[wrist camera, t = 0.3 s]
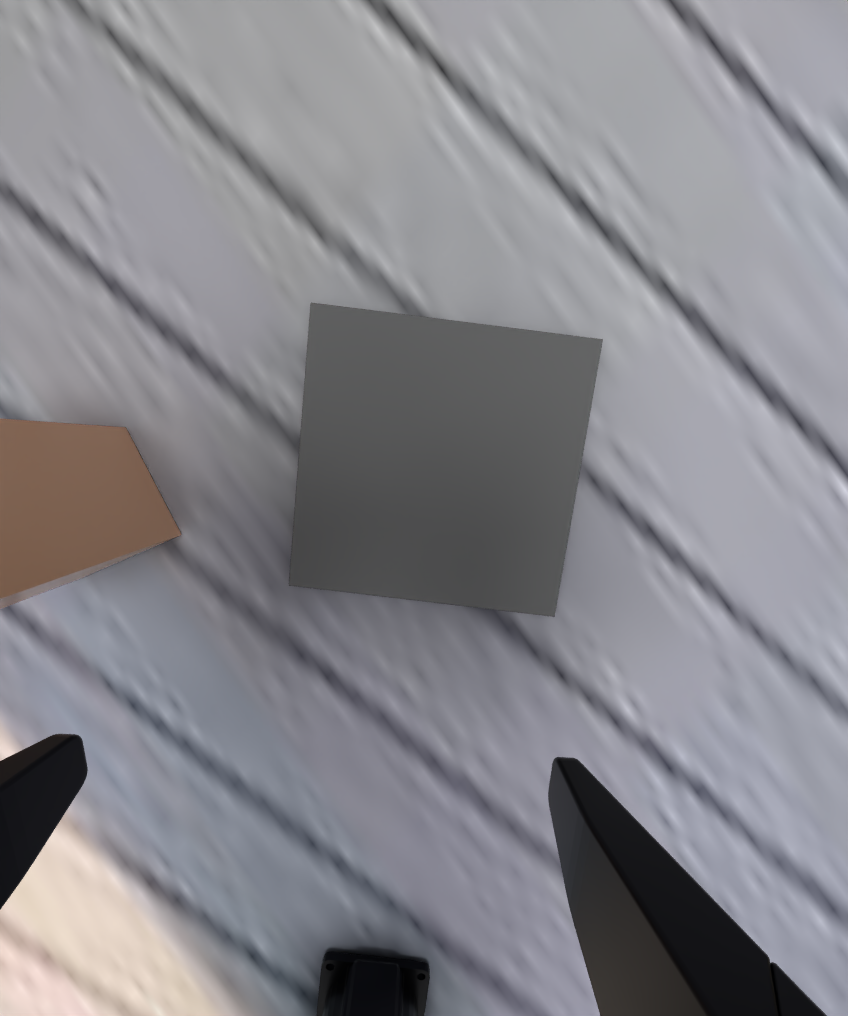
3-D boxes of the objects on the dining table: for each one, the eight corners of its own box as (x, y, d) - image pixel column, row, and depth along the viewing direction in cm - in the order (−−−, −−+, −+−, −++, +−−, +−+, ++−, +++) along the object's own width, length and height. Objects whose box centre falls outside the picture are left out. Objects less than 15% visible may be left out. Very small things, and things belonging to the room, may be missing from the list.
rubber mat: (552, 613, 22) (554, 616, 22) (291, 582, 22) (288, 585, 22) (599, 341, 20) (602, 339, 20) (313, 305, 20) (310, 302, 20)
